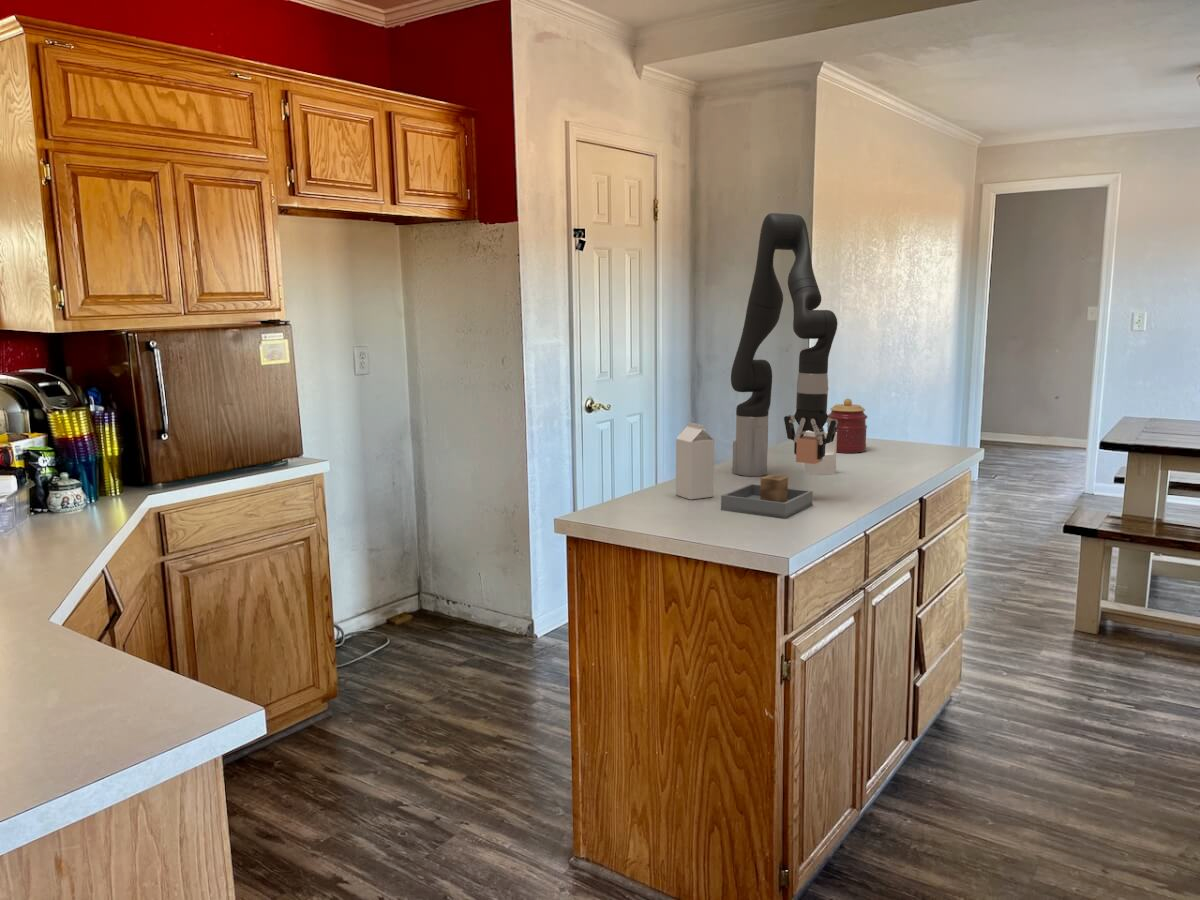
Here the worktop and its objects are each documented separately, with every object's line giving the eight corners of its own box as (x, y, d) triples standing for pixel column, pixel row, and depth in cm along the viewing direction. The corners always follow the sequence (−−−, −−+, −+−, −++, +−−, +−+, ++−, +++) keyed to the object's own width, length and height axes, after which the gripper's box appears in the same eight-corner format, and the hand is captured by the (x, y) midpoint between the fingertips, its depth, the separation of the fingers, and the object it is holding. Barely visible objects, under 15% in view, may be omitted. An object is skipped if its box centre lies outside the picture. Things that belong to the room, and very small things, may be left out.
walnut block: (760, 502, 218) (760, 478, 217) (768, 498, 222) (769, 475, 221) (779, 504, 215) (779, 480, 214) (787, 500, 219) (788, 477, 218)
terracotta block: (795, 461, 223) (796, 438, 222) (803, 458, 227) (804, 435, 226) (814, 464, 220) (815, 440, 219) (822, 460, 224) (823, 437, 223)
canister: (827, 453, 293) (829, 400, 290) (824, 447, 305) (826, 396, 302) (868, 454, 291) (870, 400, 288) (863, 447, 303) (865, 396, 300)
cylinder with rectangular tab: (801, 474, 258) (803, 433, 256) (806, 468, 266) (808, 429, 264) (833, 476, 254) (834, 435, 252) (837, 470, 262) (839, 430, 260)
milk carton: (690, 500, 224) (691, 426, 221) (675, 495, 230) (675, 423, 227) (713, 497, 227) (714, 424, 224) (698, 492, 234) (699, 421, 230)
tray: (720, 509, 214) (721, 495, 213) (750, 497, 227) (750, 483, 227) (785, 518, 204) (785, 503, 204) (812, 505, 218) (812, 491, 217)
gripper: (779, 390, 221) (776, 457, 224) (834, 394, 213) (831, 463, 216) (791, 387, 227) (788, 452, 230) (845, 391, 219) (842, 458, 222)
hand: (809, 457), depth 223 cm, fingers closed on terracotta block, 5 cm apart
